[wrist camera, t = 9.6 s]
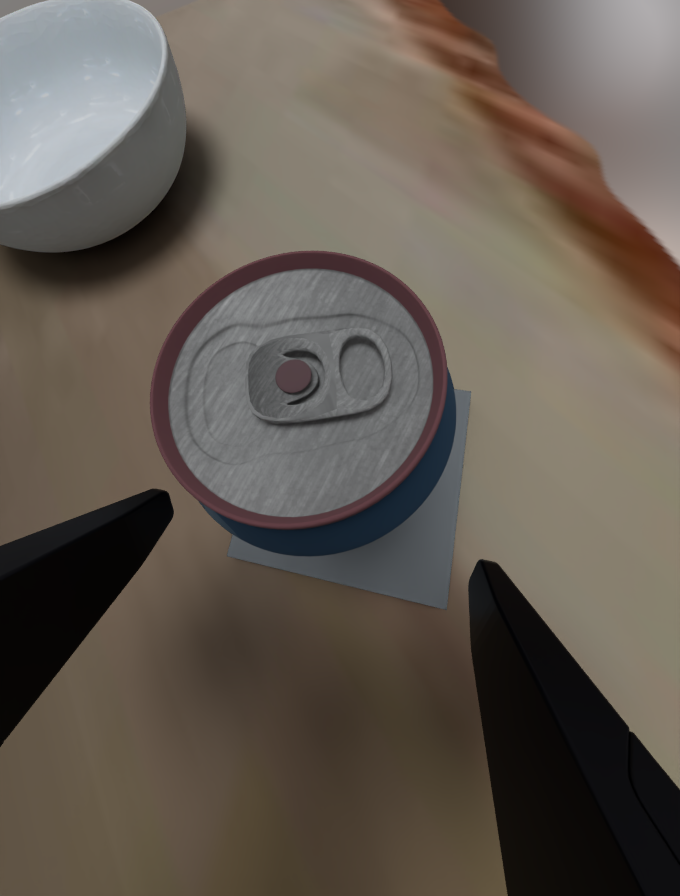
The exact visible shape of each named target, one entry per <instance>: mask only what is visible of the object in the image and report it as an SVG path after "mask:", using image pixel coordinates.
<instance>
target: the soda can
mask: <svg viewBox="0 0 680 896" xmlns="http://www.w3.org/2000/svg"><path fill="white" fill-rule="evenodd" d="M150 413H151V421H152V427H153V431H154V436H155V439H156V442H157V445H158V447H159V450H160V452H161V455H162V457H163V458H164V460H165V462H166V464H167V466H168V467H169V469H170V471H171V472H172V474H173V475H174V476H175V478H176V479H177V480H178V481H179V483H180V484H181V485H182V486H183V487H184V488H185V489H186V490H187V491H188V492H189V493H190V494H191V495H192V496H193V497H195V498H196V499H197V500H198V501H199V503H200V504H201V505H202V506H203V508H204V509H205V510H206V511H207V513H208V514H209V515H210V516H211V517H212V518H213V519H214V520H215V521H216V522H217V523H219V524H220V525H221V526H222V527H223V528H225V529H226V530H227V531H229V532H230V533H231V534H233V535H234V536H236V537H238V538H239V539H241V540H243V541H245V542H247V543H249V544H251V545H253V546H255V547H258V548H260V549H263V550H267V551H270V552H273V553H278V554H283V555H291V556H308V557H311V556H325V555H332V554H337V553H342V552H346V551H349V550H353V549H356V548H359V547H361V546H364V545H366V544H369V543H371V542H373V541H375V540H377V539H379V538H381V537H383V536H384V535H386V534H387V533H389V532H391V531H392V530H394V529H395V528H396V527H398V526H399V525H401V524H402V523H403V522H404V521H405V520H407V519H408V518H409V517H410V516H411V515H412V514H413V513H414V512H415V511H416V510H417V509H418V508H419V507H420V506H421V505H422V504H423V502H424V501H425V500H426V499H427V497H428V496H429V495H430V493H431V492H432V490H433V489H434V488H435V486H436V484H437V483H438V481H439V479H440V477H441V476H442V473H443V471H444V469H445V467H446V465H447V462H448V459H449V456H450V453H451V450H452V446H453V442H454V436H455V430H456V399H455V392H454V387H453V383H452V379H451V376H450V373H449V370H448V368H447V361H446V355H445V350H444V346H443V342H442V339H441V336H440V333H439V331H438V328H437V326H436V324H435V322H434V320H433V318H432V316H431V315H430V313H429V311H428V310H427V308H426V307H425V305H424V304H423V303H422V301H421V300H420V299H419V298H418V297H417V295H416V294H415V293H414V292H413V291H412V290H411V289H410V288H409V287H408V286H407V285H406V284H404V283H403V282H402V281H401V280H400V279H398V278H397V277H396V276H394V275H393V274H391V273H390V272H388V271H386V270H385V269H383V268H381V267H379V266H377V265H375V264H373V263H371V262H368V261H366V260H363V259H360V258H357V257H354V256H350V255H346V254H341V253H335V252H327V251H298V252H289V253H283V254H278V255H274V256H270V257H266V258H263V259H260V260H257V261H254V262H252V263H249V264H247V265H245V266H242V267H240V268H238V269H236V270H234V271H233V272H231V273H229V274H227V275H226V276H224V277H223V278H221V279H219V280H218V281H216V282H215V283H214V284H212V285H211V286H210V287H208V288H207V289H206V290H205V291H204V292H203V293H201V294H200V295H199V296H198V297H197V298H196V299H195V300H194V301H193V302H192V303H191V304H190V305H189V306H188V307H187V309H186V310H185V311H184V312H183V313H182V315H181V316H180V317H179V319H178V320H177V321H176V323H175V324H174V326H173V327H172V329H171V331H170V332H169V334H168V336H167V338H166V340H165V342H164V344H163V346H162V348H161V351H160V353H159V356H158V359H157V362H156V365H155V369H154V372H153V377H152V383H151V392H150Z"/></svg>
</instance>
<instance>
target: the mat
mask: <svg viewBox="0 0 680 896" xmlns="http://www.w3.org/2000/svg"><path fill="white" fill-rule="evenodd" d="M454 392H455V399H456V430H455V436H454V442H453V446H452V450H451V453H450V456H449V459H448V462H447V465H446V467H445V469H444V471H443V473H442V476H441V477H440V479H439V481H438V483H437V484H436V486H435V488H434V489H433V490H432V492H431V493H430V495H429V496H428V497H427V499H426V500H425V501H424V502H423V504H422V505H421V506H420V507H419V508H418V509H417V510H416V511H415V512H414V513H413V514H412V515H411V516H410V517H409V518H408V519H407V520H405V521H404V522H403V523H402V524H401V525H399V526H398V527H396V528H395V529H394V530H392V531H391V532H389V533H387V534H386V535H384V536H383V537H381V538H379V539H377V540H375V541H373V542H371V543H369V544H366V545H364V546H361V547H359V548H356V549H353V550H349V551H346V552H342V553H337V554H332V555H325V556H311V557H308V556H291V555H283V554H278V553H273V552H270V551H267V550H263V549H260V548H258V547H255V546H253V545H251V544H249V543H247V542H245V541H243V540H241V539H239V538H238V537H236V536H234V535H232V539H231V543H230V546H229V550H228V553H227V556H228V557H232V558H236V559H241V560H245V561H249V562H253V563H257V564H261V565H265V566H269V567H273V568H277V569H281V570H285V571H289V572H294V573H298V574H302V575H306V576H310V577H314V578H318V579H322V580H326V581H330V582H334V583H338V584H343V585H347V586H351V587H355V588H359V589H363V590H367V591H371V592H375V593H379V594H383V595H387V596H392V597H396V598H400V599H404V600H408V601H412V602H416V603H420V604H424V605H428V606H432V607H436V608H441V609H445V610H447V602H448V593H449V584H450V575H451V566H452V557H453V548H454V539H455V530H456V522H457V513H458V504H459V495H460V486H461V477H462V468H463V459H464V451H465V442H466V433H467V424H468V415H469V406H470V397H471V391H464V390H457V389H454Z"/></svg>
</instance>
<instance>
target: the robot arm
mask: <svg viewBox="0 0 680 896" xmlns="http://www.w3.org/2000/svg"><path fill="white" fill-rule="evenodd" d="M173 514H174V510H173V506H172V503H171V499H170V496H169V493H168V492H167V491H164V490H160V489H150V490H147V491H145V492H142V493H140V494H137V495H134V496H132V497H129V498H126V499H124V500H121V501H118V502H116V503H113V504H110V505H108V506H105V507H102V508H100V509H97V510H94V511H92V512H89V513H87V514H84V515H81V516H79V517H76V518H73V519H71V520H68V521H65V522H63V523H60V524H57V525H55V526H52V527H49V528H47V529H44V530H41V531H39V532H36V533H33V534H31V535H28V536H26V537H23V538H20V539H18V540H15V541H12V542H10V543H7V544H4V545H2V546H0V747H1V745H2V744H3V743H4V740H6V739H7V737H8V736H9V735H10V733H11V732H12V731H13V730H14V728H15V727H16V726H17V724H18V723H19V722H20V721H21V719H22V718H23V717H24V716H25V714H26V713H27V712H28V710H29V709H30V708H31V707H32V705H33V704H34V703H35V701H36V700H37V699H38V698H39V696H40V695H41V694H42V692H43V691H44V690H45V689H46V687H47V686H48V685H49V684H50V682H51V681H52V680H53V678H54V677H55V676H56V675H57V673H58V672H59V671H60V669H61V668H62V667H63V666H64V664H65V663H66V662H67V660H68V659H69V658H70V657H71V655H72V654H73V653H74V652H75V650H76V649H77V648H78V646H79V645H80V644H81V643H82V641H83V640H84V639H85V637H86V636H87V635H88V634H89V632H90V631H91V630H92V628H93V627H94V626H95V625H96V623H97V622H98V621H99V620H100V618H101V617H102V616H103V614H104V613H105V612H106V611H107V609H108V608H109V607H110V605H111V604H112V603H113V602H114V600H115V599H116V598H117V596H118V595H119V594H120V593H121V591H122V590H123V589H124V588H125V586H126V585H127V584H128V582H129V581H130V580H131V579H132V577H133V576H134V575H135V573H136V572H137V571H138V570H139V568H140V567H141V566H142V564H143V563H144V561H145V560H146V558H147V557H148V555H149V554H150V552H151V551H152V549H153V548H154V546H155V545H156V543H157V541H158V540H159V538H160V537H161V535H162V534H163V532H164V531H165V529H166V527H167V526H168V524H169V523H170V521H171V520H172V518H173ZM468 591H469V615H470V639H471V652H472V660H473V667H474V674H475V680H476V687H477V694H478V700H479V707H480V714H481V720H482V727H483V734H484V740H485V747H486V754H487V761H488V767H489V774H490V781H491V787H492V794H493V801H494V807H495V814H496V821H497V827H498V834H499V841H500V847H501V854H502V861H503V867H504V874H505V881H506V887H507V894H508V896H680V789H679V788H678V787H677V786H676V784H675V783H674V782H673V781H672V780H671V778H670V777H669V776H668V775H667V773H666V772H665V771H664V770H663V769H662V767H661V766H660V765H659V764H658V763H657V761H656V760H655V759H654V758H653V756H652V755H651V754H650V753H649V751H648V750H647V749H646V748H645V746H644V745H643V744H642V743H641V741H640V740H639V739H638V738H637V736H636V735H635V734H634V733H633V732H629V727H628V725H627V724H626V723H625V722H624V720H623V719H622V718H621V717H620V715H619V714H618V713H617V712H616V710H615V709H614V708H613V707H612V705H611V704H610V703H609V702H608V700H607V699H606V698H605V697H604V695H603V694H602V693H601V692H600V690H599V689H598V688H597V687H596V685H595V684H594V683H593V682H592V680H591V679H590V678H589V677H588V675H587V674H586V673H585V672H584V670H583V669H582V668H581V667H580V665H579V664H578V663H577V662H576V661H575V659H574V658H573V657H572V656H571V654H570V653H569V652H568V651H567V649H566V648H565V647H564V646H563V644H562V643H561V642H560V641H559V639H558V638H557V637H556V636H555V634H554V633H553V632H552V631H551V629H550V628H549V627H548V626H547V624H546V623H545V622H544V621H543V619H542V618H541V617H540V616H539V614H538V613H537V612H536V611H535V609H534V608H533V607H532V606H531V604H530V603H529V602H528V601H527V599H526V598H525V597H524V596H523V594H522V593H521V592H520V591H519V589H518V588H517V587H516V586H515V584H514V583H513V582H512V581H511V579H510V578H509V577H508V576H507V574H506V573H505V572H504V571H503V569H502V568H501V567H500V566H499V565H498V564H497V563H496V562H492V561H488V560H483V559H480V560H479V561H478V562H477V564H476V566H475V568H474V570H473V573H472V575H471V577H470V579H469V585H468Z"/></svg>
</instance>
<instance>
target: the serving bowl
mask: <svg viewBox="0 0 680 896" xmlns="http://www.w3.org/2000/svg"><path fill="white" fill-rule="evenodd" d="M185 142H186V111H185V103H184V96H183V91H182V87H181V82H180V79H179V75H178V71H177V68H176V65H175V62H174V59H173V56H172V53H171V50H170V47H169V44H168V41H167V38H166V35H165V33H164V31H163V29H162V27H161V25H160V24H159V22H158V21H157V19H156V18H155V17H154V16H153V15H152V14H151V13H150V12H149V11H147V10H146V9H145V8H143V7H142V6H140V5H138V4H136V3H134V2H132V1H129V0H48V1H45V2H40V3H37V4H34V5H31V6H28V7H25V8H23V9H20V10H18V11H15V12H13V13H11V14H8V15H6V16H4V17H2V18H0V245H4V246H8V247H12V248H16V249H21V250H27V251H34V252H69V251H76V250H81V249H86V248H90V247H93V246H96V245H100V244H102V243H105V242H107V241H109V240H112V239H114V238H116V237H118V236H120V235H122V234H124V233H125V232H127V231H128V230H130V229H131V228H133V227H134V226H135V225H137V224H138V223H139V222H141V221H142V220H143V219H144V218H145V217H147V216H148V215H149V214H150V213H151V212H152V211H153V210H154V209H155V208H156V207H157V205H158V204H159V203H160V202H161V201H162V199H163V198H164V196H165V195H166V194H167V192H168V191H169V189H170V187H171V185H172V184H173V182H174V180H175V178H176V176H177V173H178V171H179V168H180V165H181V162H182V158H183V154H184V148H185Z"/></svg>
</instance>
